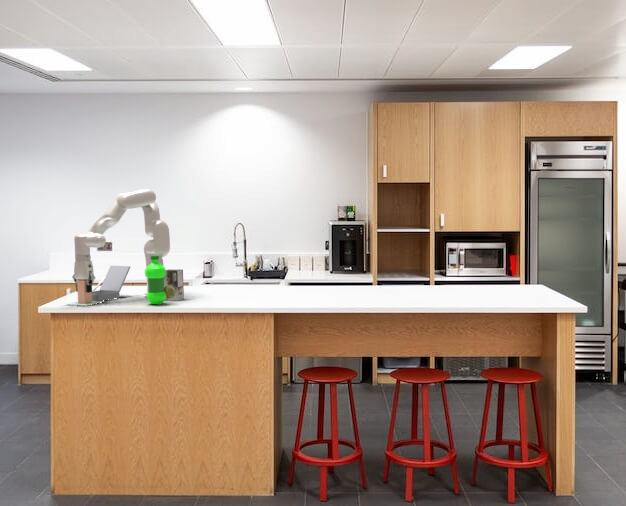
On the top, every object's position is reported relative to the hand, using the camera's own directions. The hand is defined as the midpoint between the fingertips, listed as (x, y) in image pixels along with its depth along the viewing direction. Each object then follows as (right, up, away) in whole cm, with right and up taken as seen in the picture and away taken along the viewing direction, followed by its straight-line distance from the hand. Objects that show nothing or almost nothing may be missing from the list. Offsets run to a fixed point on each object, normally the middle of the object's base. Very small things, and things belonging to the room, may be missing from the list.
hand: (84, 291), depth 377 cm
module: (0, -6, 0) cm, 6 cm away
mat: (0, -7, +1) cm, 6 cm away
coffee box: (+45, -5, +9) cm, 47 cm away
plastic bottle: (+39, -6, -6) cm, 40 cm away
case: (+5, -5, +19) cm, 20 cm away
